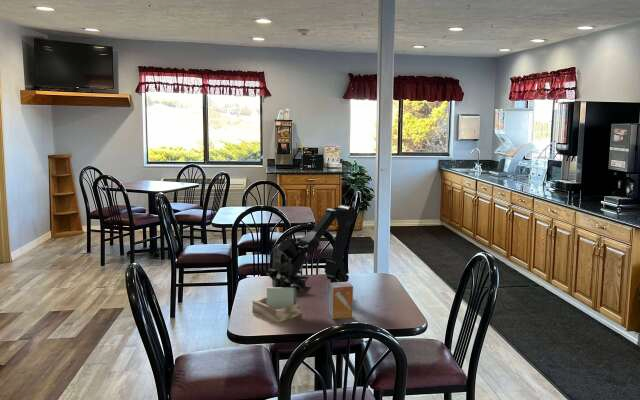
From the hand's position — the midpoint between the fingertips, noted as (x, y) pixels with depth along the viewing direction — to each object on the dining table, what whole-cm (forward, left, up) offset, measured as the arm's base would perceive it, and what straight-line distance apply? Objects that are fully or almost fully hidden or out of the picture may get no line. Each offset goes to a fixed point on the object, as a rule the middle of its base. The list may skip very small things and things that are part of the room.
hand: (274, 297), depth 219 cm
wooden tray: (-1, 0, -6) cm, 7 cm away
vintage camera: (-2, -34, -7) cm, 35 cm away
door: (-3, +1, -5) cm, 6 cm away
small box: (-27, +1, -7) cm, 27 cm away
